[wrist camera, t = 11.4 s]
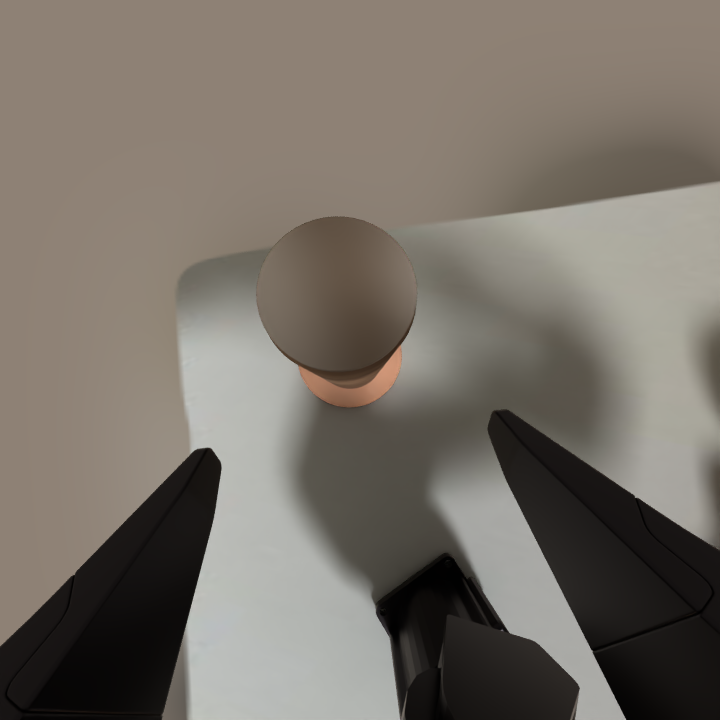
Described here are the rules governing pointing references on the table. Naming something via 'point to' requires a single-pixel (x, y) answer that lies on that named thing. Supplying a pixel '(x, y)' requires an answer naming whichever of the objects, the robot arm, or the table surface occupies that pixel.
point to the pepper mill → (337, 298)
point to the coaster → (356, 395)
